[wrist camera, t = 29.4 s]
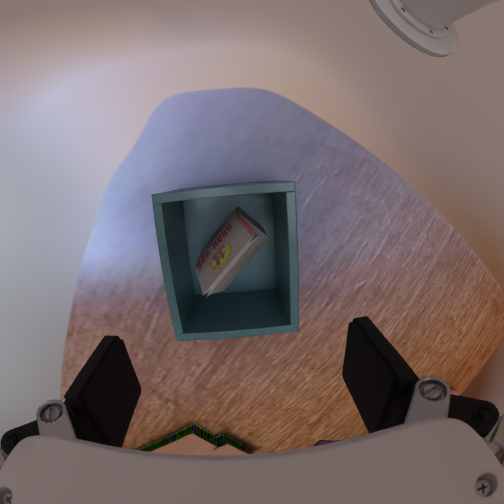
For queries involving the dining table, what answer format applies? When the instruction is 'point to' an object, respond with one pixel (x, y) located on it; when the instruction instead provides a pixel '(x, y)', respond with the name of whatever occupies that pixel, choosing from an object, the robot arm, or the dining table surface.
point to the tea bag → (229, 252)
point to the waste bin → (252, 275)
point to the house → (197, 445)
